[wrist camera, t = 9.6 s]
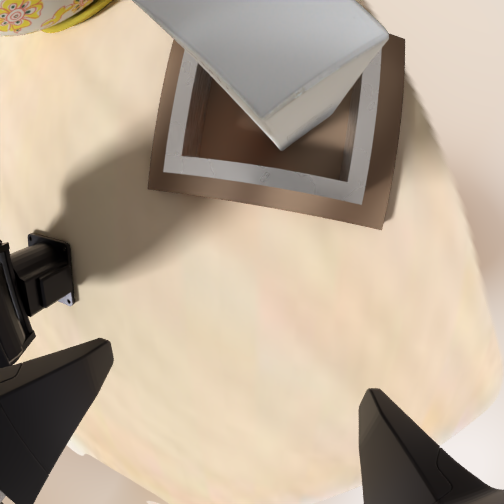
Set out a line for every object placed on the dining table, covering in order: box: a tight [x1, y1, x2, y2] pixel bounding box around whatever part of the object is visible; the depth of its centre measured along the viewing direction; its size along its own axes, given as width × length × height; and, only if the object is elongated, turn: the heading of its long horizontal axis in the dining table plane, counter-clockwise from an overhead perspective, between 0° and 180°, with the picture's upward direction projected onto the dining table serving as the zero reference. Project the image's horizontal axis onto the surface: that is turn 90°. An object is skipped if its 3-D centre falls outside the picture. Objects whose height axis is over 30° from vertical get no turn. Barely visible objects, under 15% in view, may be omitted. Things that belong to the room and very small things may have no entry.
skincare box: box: [132, 0, 389, 151], centre depth 10 cm, size 6×4×12 cm
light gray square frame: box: [163, 48, 382, 205], centre depth 15 cm, size 11×11×3 cm
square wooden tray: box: [148, 34, 405, 230], centre depth 17 cm, size 16×14×1 cm
